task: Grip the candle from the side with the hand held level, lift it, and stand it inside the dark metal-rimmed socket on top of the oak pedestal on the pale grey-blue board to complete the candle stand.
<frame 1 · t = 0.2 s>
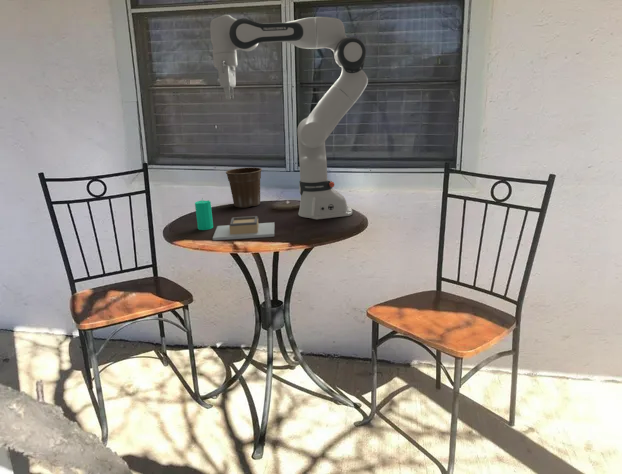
hand: (229, 99, 195), 48 cm above the table, tool pointing down, fingers open, 8 cm apart
candle: (205, 228, 198), on the table
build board: (245, 232, 189), on the table
plant pot: (246, 205, 233), on the table
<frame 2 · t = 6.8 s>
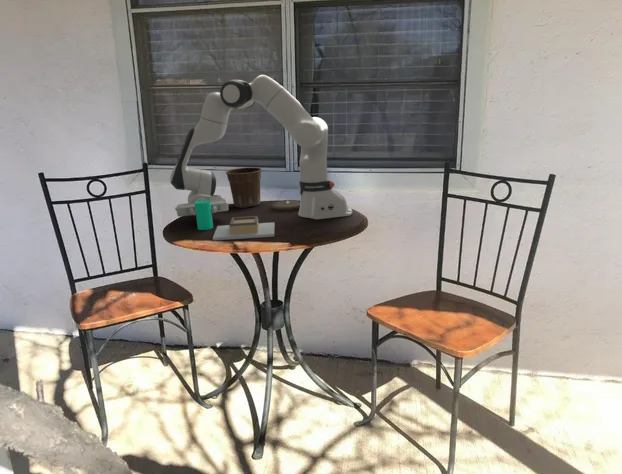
hand: (204, 212, 195), 7 cm above the table, tool horizontal, fingers closed on candle, 5 cm apart
candle: (205, 228, 198), on the table, touching gripper
everything else where it was.
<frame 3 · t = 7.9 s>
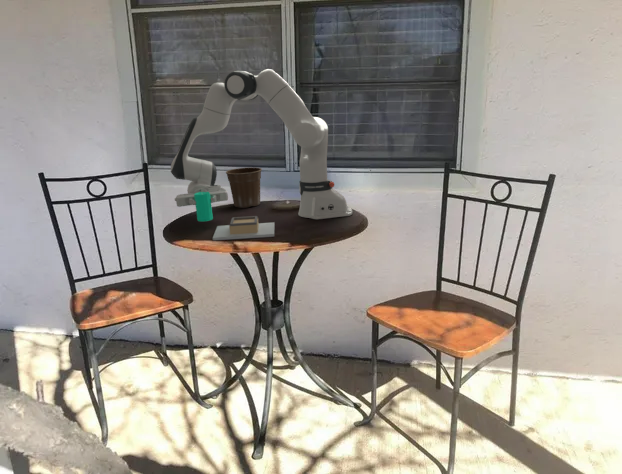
hand: (204, 201, 194), 11 cm above the table, tool horizontal, fingers closed on candle, 5 cm apart
candle: (205, 219, 197), point 3 cm above the table, touching gripper
everything else where it was.
when the fingers open (12 cm above the table, at t = 11.3 s): candle stays where it is, resting on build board.
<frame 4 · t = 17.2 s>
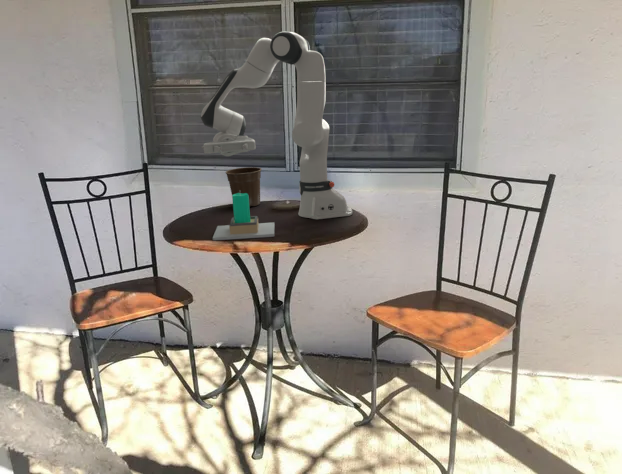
hand: (232, 148, 192), 30 cm above the table, tool horizontal, fingers open, 8 cm apart
candle: (242, 222, 188), point 4 cm above the table, touching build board
everything else where it was.
at the end: candle 0.5 cm off-centre on the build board, point 3.8 cm above the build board's base; candle tilted 0°; the gripper is holding nothing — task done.
